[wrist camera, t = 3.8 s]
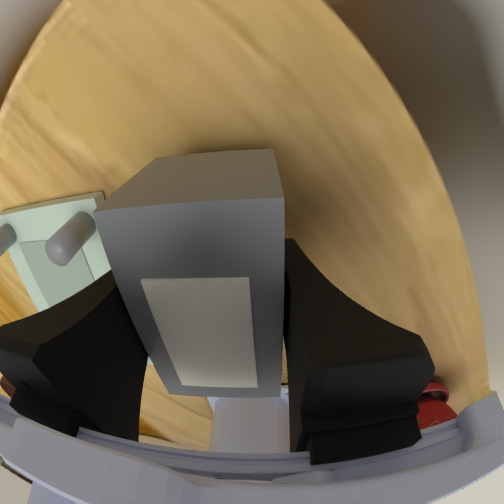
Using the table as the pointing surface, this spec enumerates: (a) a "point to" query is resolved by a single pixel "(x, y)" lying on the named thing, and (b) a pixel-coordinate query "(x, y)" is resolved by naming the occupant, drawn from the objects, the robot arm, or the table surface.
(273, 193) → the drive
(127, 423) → the robot arm
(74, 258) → the tray
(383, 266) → the table surface
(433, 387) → the plant pot
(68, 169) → the table surface
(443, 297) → the table surface
